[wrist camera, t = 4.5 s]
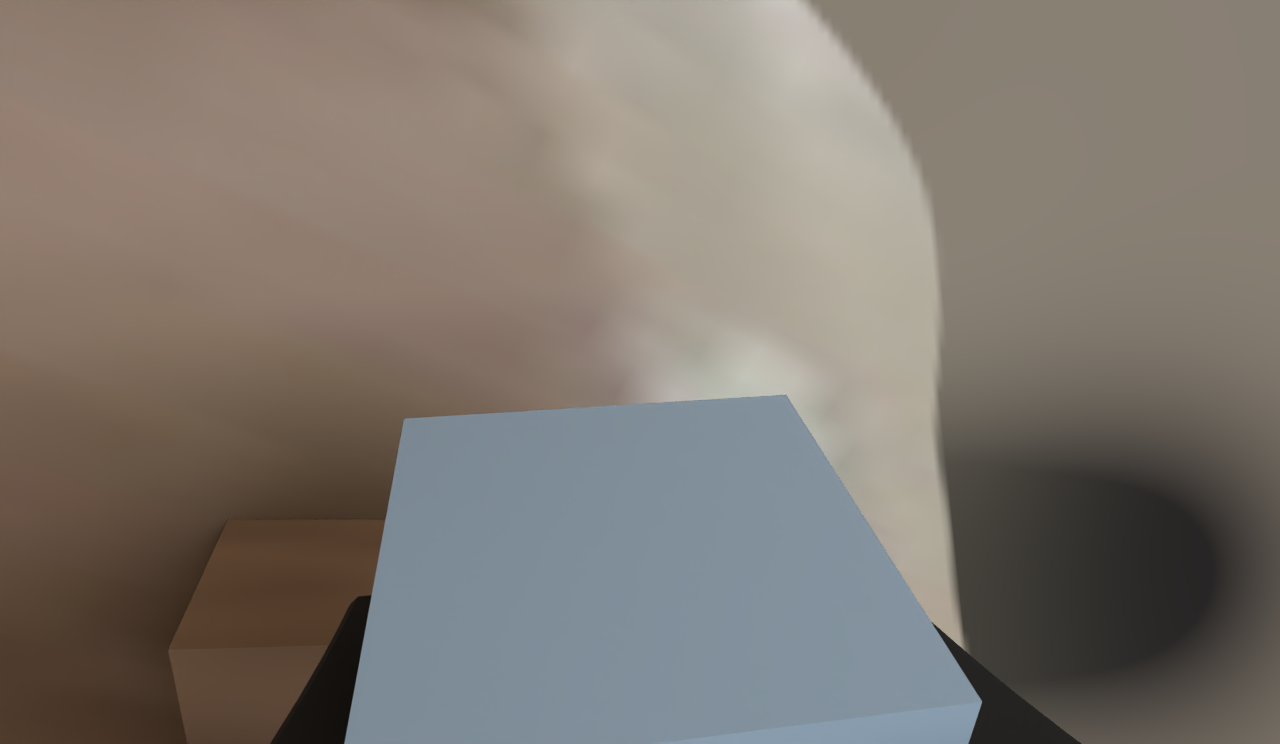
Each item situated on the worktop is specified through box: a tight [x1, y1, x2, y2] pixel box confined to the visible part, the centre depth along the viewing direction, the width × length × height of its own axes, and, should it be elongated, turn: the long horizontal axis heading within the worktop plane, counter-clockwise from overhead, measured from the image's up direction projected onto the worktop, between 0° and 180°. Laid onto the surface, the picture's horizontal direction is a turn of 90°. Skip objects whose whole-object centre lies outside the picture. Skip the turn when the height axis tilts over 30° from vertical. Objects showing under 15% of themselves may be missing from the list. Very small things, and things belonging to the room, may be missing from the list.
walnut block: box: [168, 519, 386, 744], centre depth 19 cm, size 8×8×4 cm
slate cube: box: [344, 395, 982, 744], centre depth 9 cm, size 5×5×5 cm
